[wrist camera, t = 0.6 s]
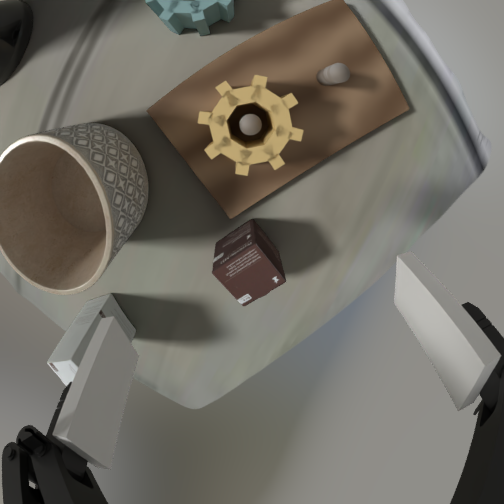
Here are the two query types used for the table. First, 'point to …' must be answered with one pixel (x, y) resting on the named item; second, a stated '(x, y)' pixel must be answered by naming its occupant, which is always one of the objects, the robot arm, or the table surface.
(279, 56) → the gear board
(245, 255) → the box
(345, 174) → the table surface
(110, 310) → the skincare box
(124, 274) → the table surface
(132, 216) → the planter
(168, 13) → the gear
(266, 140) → the gear out
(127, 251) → the table surface
